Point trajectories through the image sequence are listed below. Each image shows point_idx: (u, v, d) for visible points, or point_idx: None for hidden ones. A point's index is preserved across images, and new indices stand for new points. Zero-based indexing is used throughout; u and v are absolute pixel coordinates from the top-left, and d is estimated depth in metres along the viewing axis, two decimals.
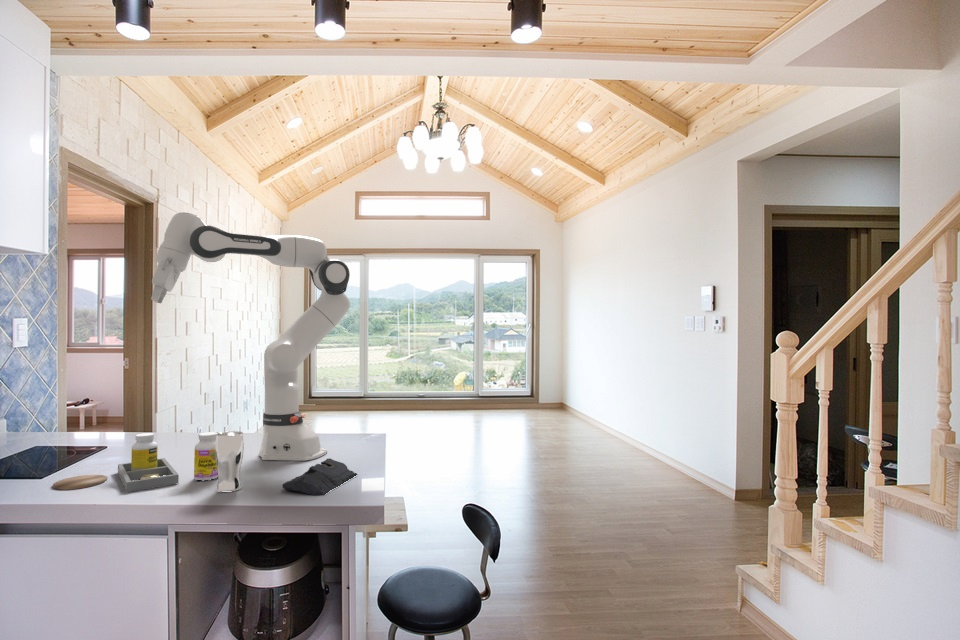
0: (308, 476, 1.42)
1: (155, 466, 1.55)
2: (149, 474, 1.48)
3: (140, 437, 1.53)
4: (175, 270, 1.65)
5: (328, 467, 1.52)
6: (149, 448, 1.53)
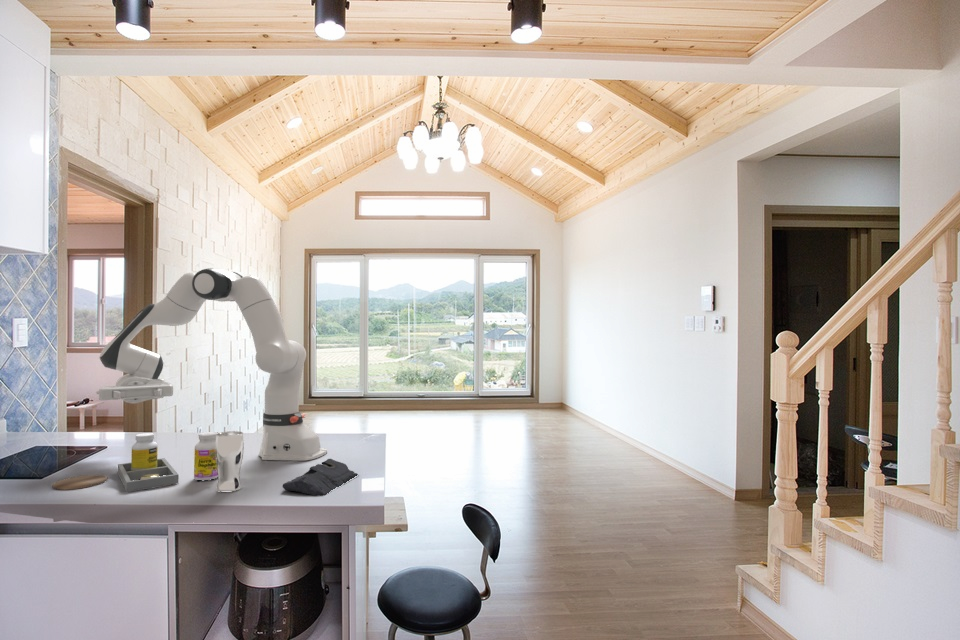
0: (308, 476, 1.42)
1: (155, 466, 1.55)
2: (149, 474, 1.48)
3: (140, 437, 1.53)
4: (127, 384, 1.71)
5: (329, 467, 1.51)
6: (149, 448, 1.53)
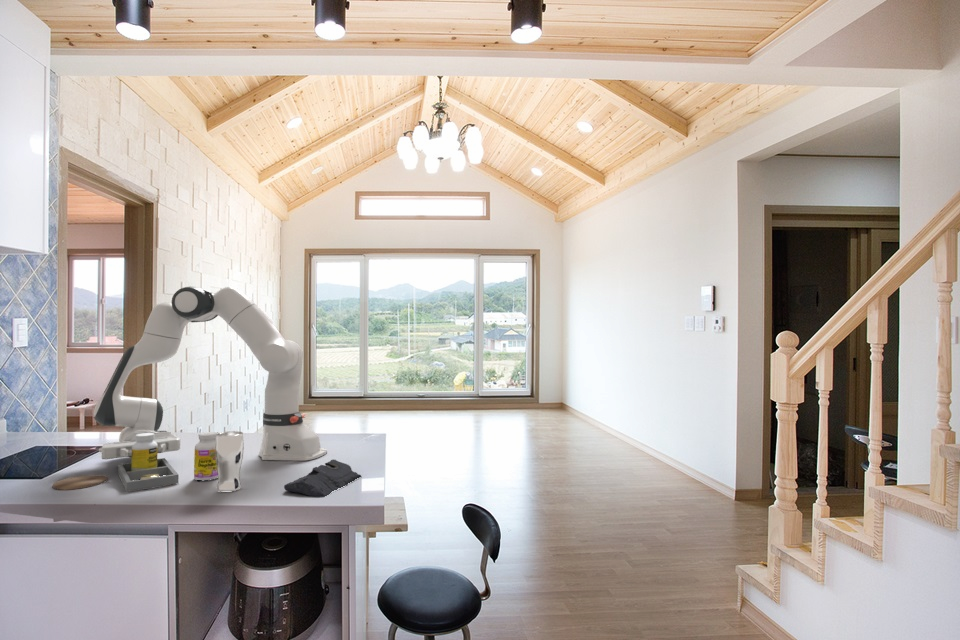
0: (310, 477, 1.41)
1: (155, 466, 1.55)
2: (149, 474, 1.48)
3: (140, 437, 1.53)
4: (131, 439, 1.61)
5: (331, 468, 1.51)
6: (149, 448, 1.53)
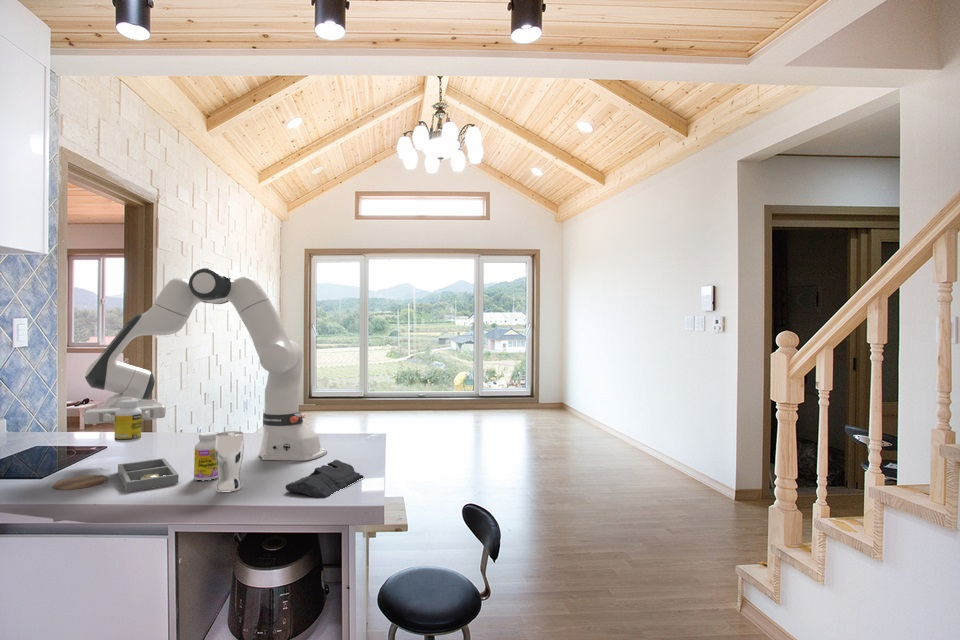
0: (312, 478, 1.41)
1: (139, 433, 1.53)
2: (149, 474, 1.48)
3: (123, 403, 1.50)
4: (115, 405, 1.59)
5: (334, 469, 1.50)
6: (132, 414, 1.51)
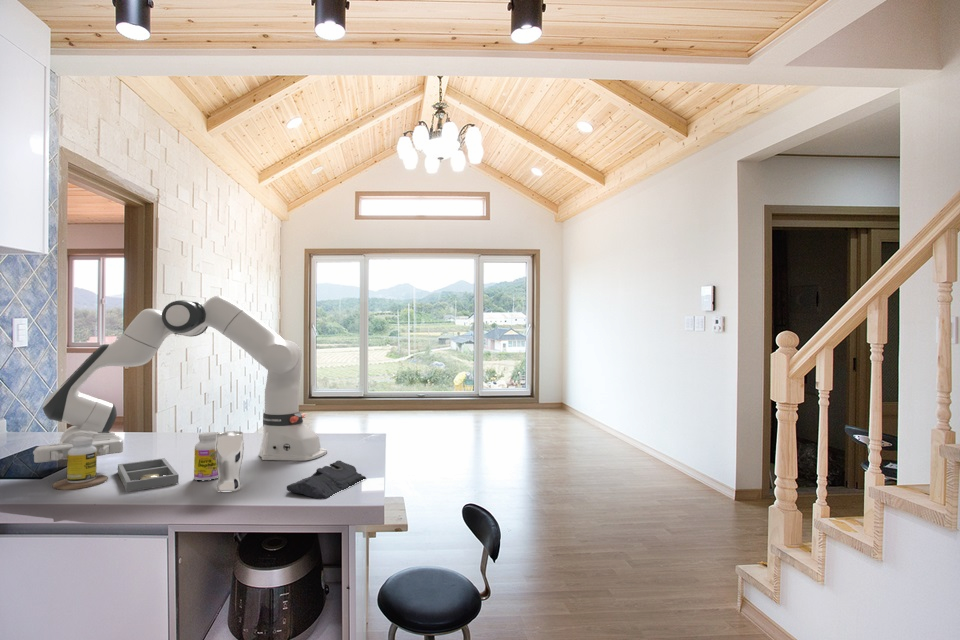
0: (313, 478, 1.40)
1: (93, 472, 1.46)
2: (149, 474, 1.48)
3: (76, 442, 1.43)
4: (70, 441, 1.52)
5: (336, 469, 1.49)
6: (86, 454, 1.44)
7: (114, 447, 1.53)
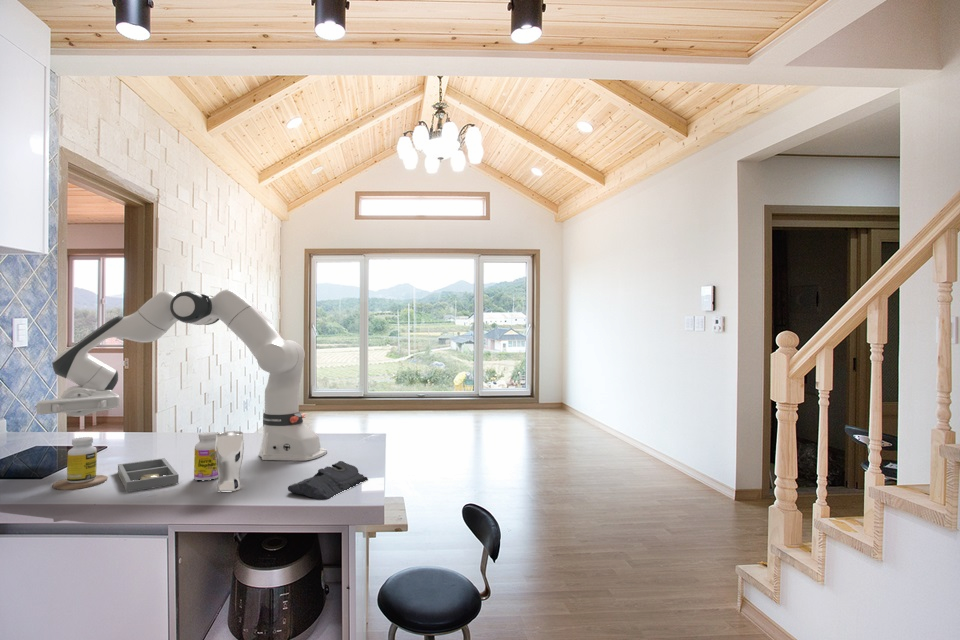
0: (314, 479, 1.40)
1: (93, 472, 1.46)
2: (149, 474, 1.48)
3: (76, 442, 1.43)
4: (69, 396, 1.62)
5: (337, 470, 1.49)
6: (86, 454, 1.44)
7: (111, 402, 1.63)
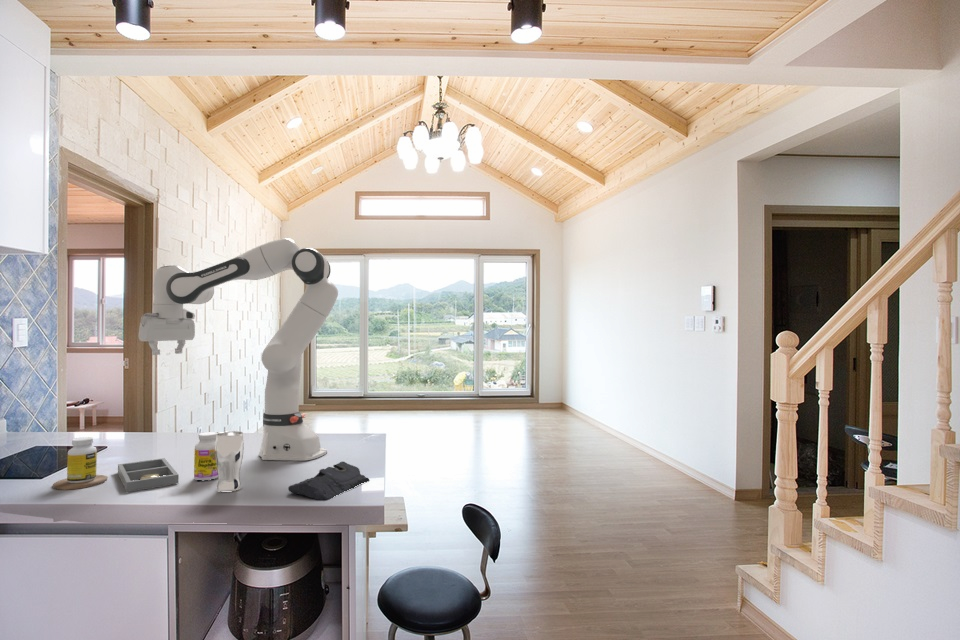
0: (315, 479, 1.39)
1: (93, 472, 1.46)
2: (149, 474, 1.48)
3: (76, 442, 1.43)
4: (167, 321, 1.75)
5: (339, 471, 1.48)
6: (86, 453, 1.44)
7: None
